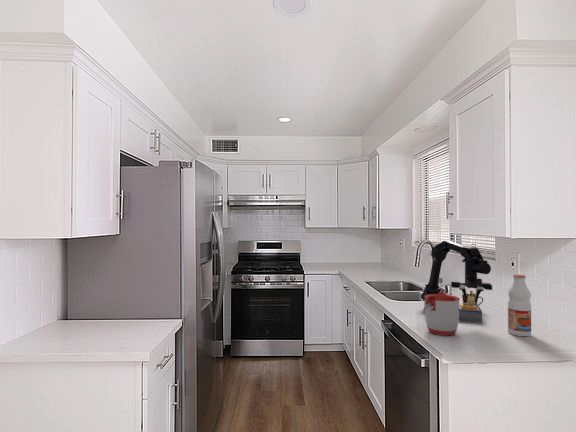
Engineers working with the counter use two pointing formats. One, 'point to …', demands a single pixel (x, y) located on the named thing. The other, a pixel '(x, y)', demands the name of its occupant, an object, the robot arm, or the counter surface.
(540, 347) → the counter surface
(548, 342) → the counter surface
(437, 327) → the citrus juicer
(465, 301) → the coffee mug
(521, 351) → the counter surface
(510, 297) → the fruit juice
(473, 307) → the grey square box
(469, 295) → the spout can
